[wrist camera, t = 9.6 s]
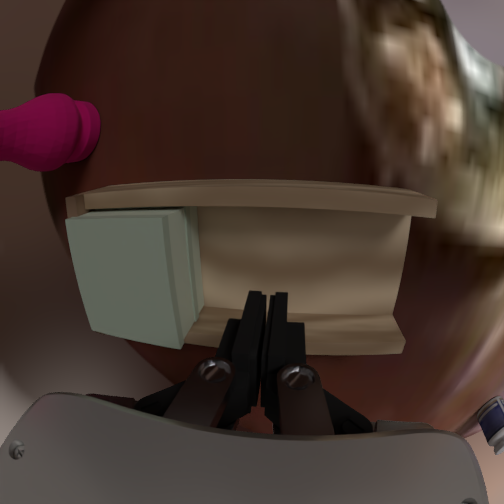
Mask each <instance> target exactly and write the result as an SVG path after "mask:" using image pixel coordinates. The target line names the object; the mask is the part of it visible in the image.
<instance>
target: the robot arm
mask: <svg viewBox="0 0 504 504" xmlns="http://www.w3.org/2000/svg"><path fill="white" fill-rule="evenodd" d="M266 308H267V295H265V294H262V291H252V290H249V293H248V296H247V300H246V303H245V307H244V311H243V314H242V318H241V319H234V318H229V319H228V321H227V324H226V327H225V330H224V333H223V336H222V339H221V341H220V344H219V347H218V350H217V353H216V356H215V357H209V358H206V359H203V360H202V361H200V362H199V363H198V364H197V365H196V366H195V367H194V369H193V371H192V372H191V374H190V375H189V377H188V378H187V380H185V381H183V382H181V383H178V384H176V385H174V386H171V387H169V388H166V389H164V390H162V391H159V392H156V393H154V394H151V395H149V396H146V397H144V398H142V399H140V400H139V401H135V399H134V398H127V397H117V396H108V395H100V394H86V395H82V394H75V393H67V392H55V393H48V394H46V395H43V396H42V397H40V398H39V399H37V400H36V401H35V402H34V403H33V404H32V405H31V406H30V407H29V408H28V410H27V411H26V412H25V413H24V414H23V415H22V417H21V418H20V420H19V421H18V422H17V423H16V425H15V426H14V428H13V429H12V430H11V432H10V433H9V435H8V436H7V438H6V439H5V441H4V443H3V444H2V446H1V448H0V504H489V502H488V496H487V491H486V486H485V483H484V479H483V475H482V472H481V469H480V466H479V463H478V460H477V458H476V456H475V454H474V452H473V450H472V448H471V446H470V444H469V443H468V442H467V441H466V440H465V439H464V438H463V437H462V436H460V435H458V434H456V433H453V432H450V431H445V430H438V429H434V428H433V427H432V426H431V425H429V424H427V423H422V422H398V421H384V420H377V422H370V421H369V420H368V419H367V418H366V417H365V416H363V415H361V414H360V413H358V412H357V411H355V410H354V409H352V408H351V407H349V406H348V405H346V404H345V403H343V402H342V401H340V400H339V399H338V398H336V397H335V396H333V395H332V394H330V393H329V392H327V391H326V390H325V389H323V388H322V384H321V380H320V377H319V374H318V372H317V371H316V370H315V369H314V368H313V367H311V366H309V365H307V364H306V345H305V324H304V322H287V309H288V292H276V293H275V295H270V301H269V308H268V315H267V322H266ZM260 381H261V407H265V416H266V417H267V418H268V419H269V420H270V421H272V422H273V434H262V433H251V432H242V431H236V429H237V426H238V424H239V418H241V417H243V416H244V415H246V414H248V413H250V412H251V406H255V407H256V406H257V400H258V394H259V388H260Z"/></svg>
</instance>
